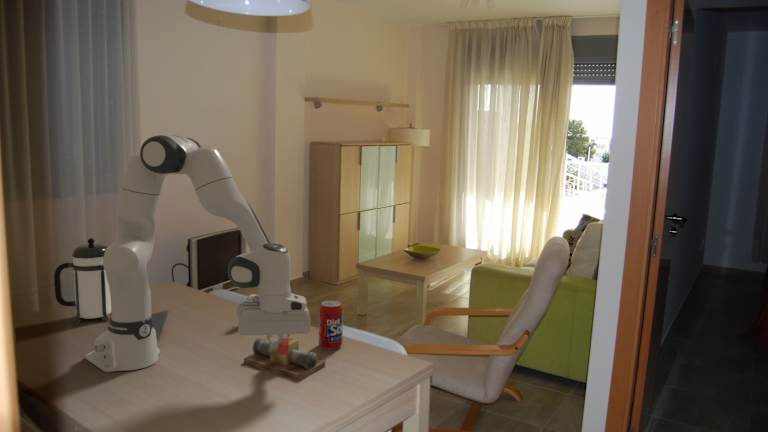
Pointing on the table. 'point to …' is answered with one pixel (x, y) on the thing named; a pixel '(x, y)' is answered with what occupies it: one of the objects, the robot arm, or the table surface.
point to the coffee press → (87, 282)
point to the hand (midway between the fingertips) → (274, 348)
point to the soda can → (330, 324)
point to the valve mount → (284, 360)
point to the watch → (253, 298)
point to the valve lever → (284, 345)
